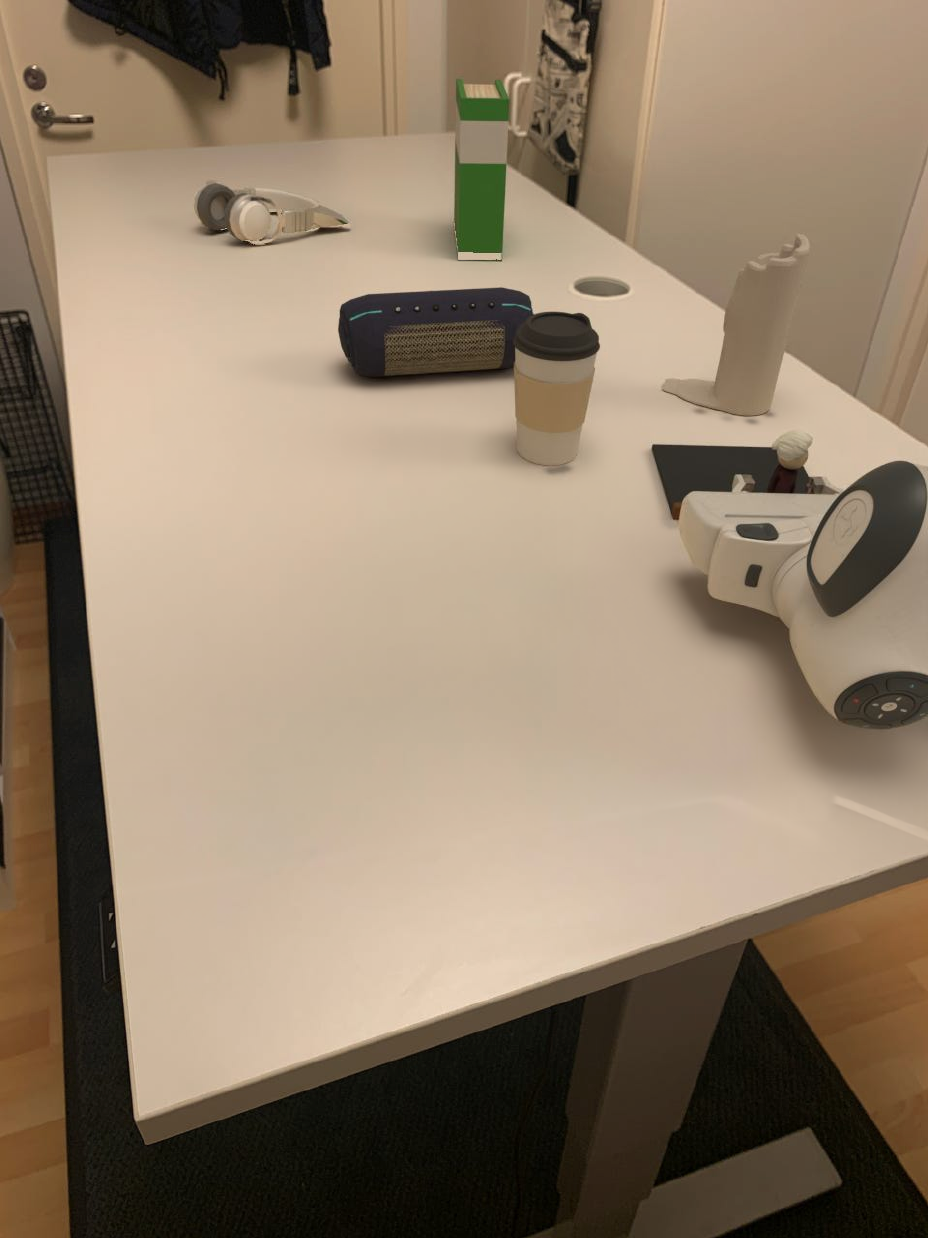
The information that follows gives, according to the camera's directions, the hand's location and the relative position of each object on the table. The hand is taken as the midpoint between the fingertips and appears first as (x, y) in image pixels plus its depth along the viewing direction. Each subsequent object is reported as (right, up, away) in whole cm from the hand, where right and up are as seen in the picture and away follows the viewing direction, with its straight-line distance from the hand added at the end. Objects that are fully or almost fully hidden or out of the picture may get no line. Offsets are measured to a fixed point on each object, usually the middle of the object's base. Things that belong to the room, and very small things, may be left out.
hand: (777, 481), depth 85 cm
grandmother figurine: (0, -6, +4) cm, 7 cm away
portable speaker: (-33, +20, +34) cm, 51 cm away
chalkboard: (0, +2, +13) cm, 13 cm away
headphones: (-65, +58, +80) cm, 118 cm away
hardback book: (-27, +53, +75) cm, 96 cm away
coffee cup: (-20, +6, +18) cm, 28 cm away
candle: (+2, +15, +30) cm, 33 cm away
